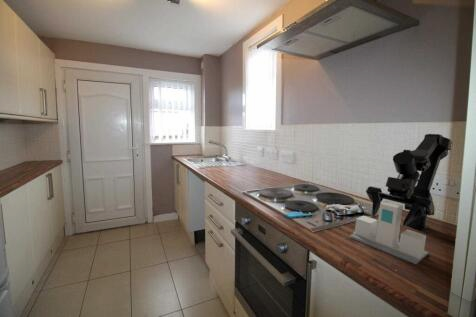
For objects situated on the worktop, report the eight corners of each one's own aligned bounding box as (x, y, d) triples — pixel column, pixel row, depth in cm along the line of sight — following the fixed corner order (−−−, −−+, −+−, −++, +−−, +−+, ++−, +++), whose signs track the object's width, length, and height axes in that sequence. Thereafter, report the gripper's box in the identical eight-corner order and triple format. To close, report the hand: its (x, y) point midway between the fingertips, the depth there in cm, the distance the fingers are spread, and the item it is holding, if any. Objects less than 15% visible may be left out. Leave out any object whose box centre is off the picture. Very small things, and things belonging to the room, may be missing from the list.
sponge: (281, 212, 106) (289, 215, 100) (304, 209, 110) (312, 212, 105) (281, 215, 106) (289, 219, 101) (304, 213, 110) (312, 216, 105)
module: (381, 237, 83) (386, 201, 82) (397, 243, 79) (402, 205, 78) (375, 240, 81) (379, 203, 79) (391, 247, 77) (396, 208, 75)
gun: (355, 200, 118) (371, 207, 108) (355, 207, 118) (370, 214, 109) (322, 204, 113) (335, 212, 104) (322, 211, 114) (335, 219, 104)
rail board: (363, 230, 91) (365, 213, 90) (427, 254, 75) (430, 234, 74) (349, 237, 85) (351, 219, 84) (416, 264, 69) (419, 242, 68)
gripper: (371, 164, 86) (352, 198, 81) (436, 173, 72) (417, 216, 67) (378, 182, 92) (361, 216, 87) (440, 195, 77) (423, 236, 72)
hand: (387, 220), depth 78 cm, fingers open, 9 cm apart
